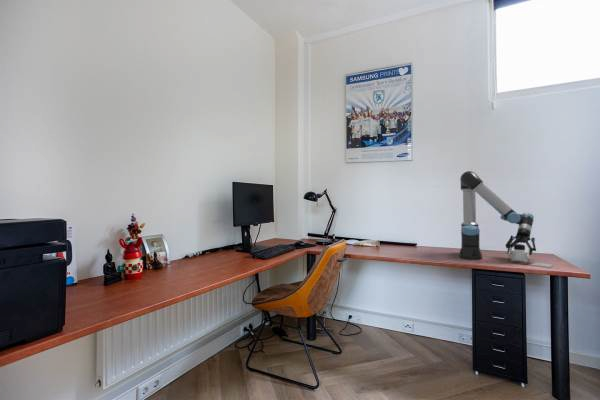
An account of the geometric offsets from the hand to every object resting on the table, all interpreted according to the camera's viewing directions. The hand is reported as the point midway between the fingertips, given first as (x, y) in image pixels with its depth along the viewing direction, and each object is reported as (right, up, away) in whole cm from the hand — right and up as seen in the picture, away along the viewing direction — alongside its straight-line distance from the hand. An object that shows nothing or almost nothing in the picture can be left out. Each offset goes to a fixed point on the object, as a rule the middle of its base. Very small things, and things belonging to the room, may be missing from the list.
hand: (518, 256), depth 201 cm
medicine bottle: (+2, -4, +2) cm, 5 cm away
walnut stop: (-2, -4, -2) cm, 5 cm away
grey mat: (+10, -4, -7) cm, 13 cm away
